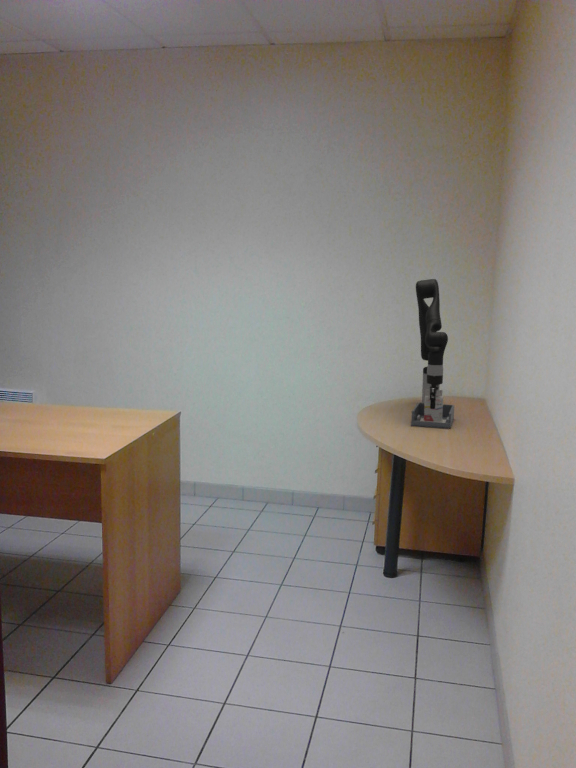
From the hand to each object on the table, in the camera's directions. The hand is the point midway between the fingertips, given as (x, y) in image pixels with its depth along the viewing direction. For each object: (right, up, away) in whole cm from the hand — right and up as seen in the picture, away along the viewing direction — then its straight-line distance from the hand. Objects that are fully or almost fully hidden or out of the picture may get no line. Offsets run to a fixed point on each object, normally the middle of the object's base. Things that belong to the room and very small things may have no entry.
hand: (433, 406), depth 313 cm
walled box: (0, -8, +1) cm, 8 cm away
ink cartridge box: (0, -7, +1) cm, 7 cm away
